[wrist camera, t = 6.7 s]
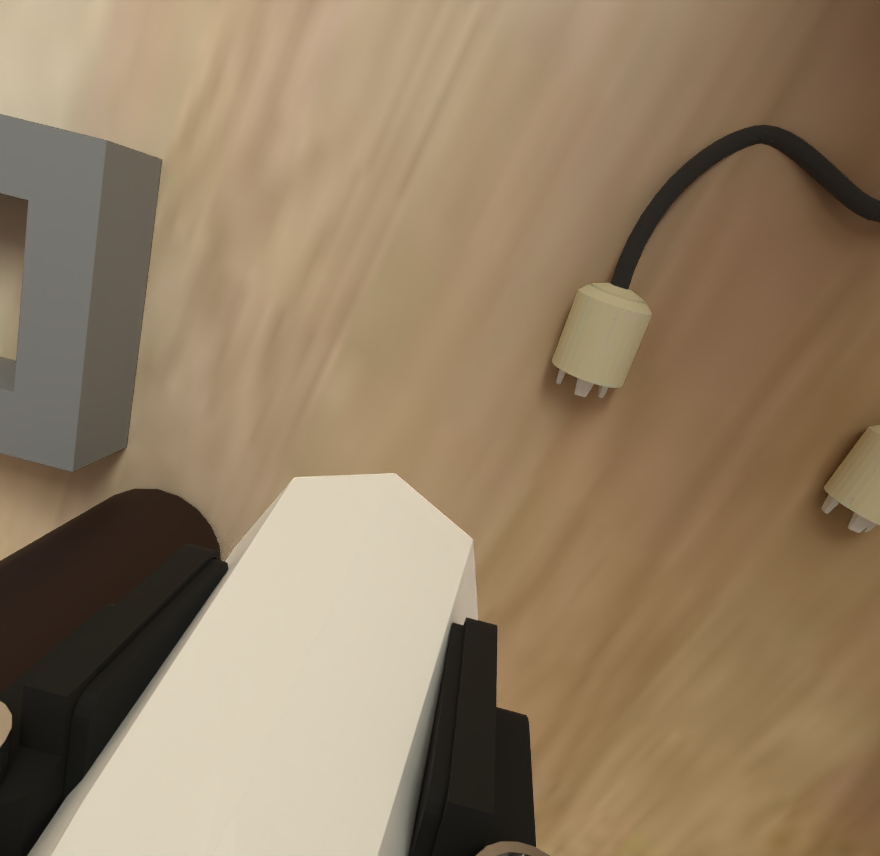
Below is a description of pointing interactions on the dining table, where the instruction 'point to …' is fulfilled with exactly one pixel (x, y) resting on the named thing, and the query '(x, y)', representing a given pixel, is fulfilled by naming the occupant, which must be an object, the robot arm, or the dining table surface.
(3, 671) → the dark brown water bottle
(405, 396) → the dining table surface
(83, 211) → the frame
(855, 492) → the cable
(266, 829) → the pepper shaker
